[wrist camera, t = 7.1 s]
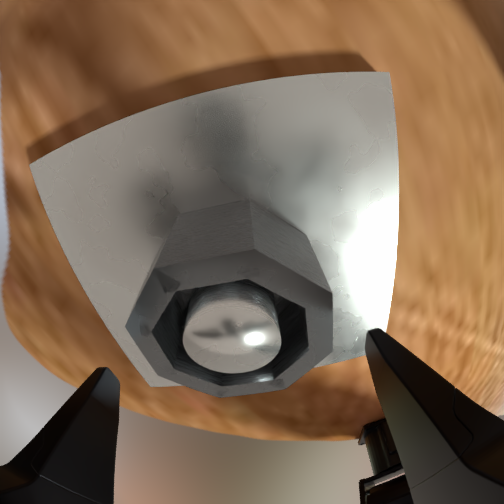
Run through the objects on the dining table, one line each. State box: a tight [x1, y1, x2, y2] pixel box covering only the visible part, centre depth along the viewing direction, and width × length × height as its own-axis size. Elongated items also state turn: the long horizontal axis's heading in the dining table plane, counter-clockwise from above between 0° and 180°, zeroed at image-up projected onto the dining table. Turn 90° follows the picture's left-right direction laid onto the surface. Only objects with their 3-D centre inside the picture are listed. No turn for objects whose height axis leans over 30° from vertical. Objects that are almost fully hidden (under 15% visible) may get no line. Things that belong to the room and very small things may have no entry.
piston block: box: [29, 72, 399, 387], centre depth 12 cm, size 16×16×5 cm
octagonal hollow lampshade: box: [125, 199, 333, 398], centre depth 11 cm, size 7×7×4 cm
